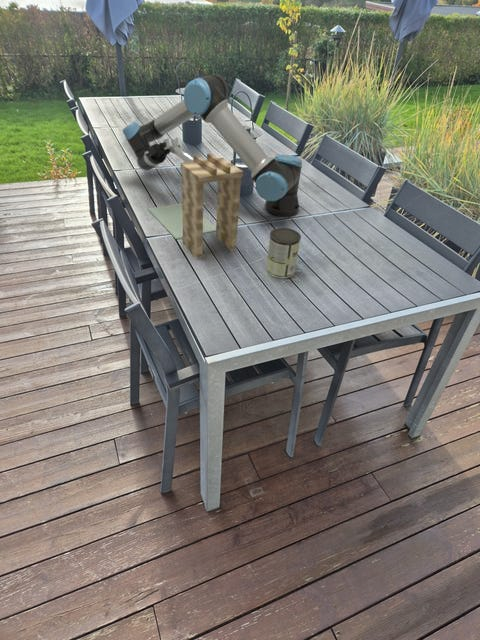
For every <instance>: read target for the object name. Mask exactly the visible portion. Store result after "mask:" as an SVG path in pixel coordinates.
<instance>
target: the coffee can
mask: <svg viewBox="0 0 480 640" xmlns="http://www.w3.org/2000/svg"><path fill="white" fill-rule="evenodd" d="M301 237H302V235H301V233H299V232H298V231H297V230H295V229H291V228H289V227H278V228H277V227H276V228H274V229H271V231H270V232H269V242H268V251H267V260H266V267H265V271H266V273H267V274H268V275H269V276H271V277H273V278H277V279H289V278H292V277H293V276H295V273H296V267H297V260H298V255H299V248H300V243H301Z"/></svg>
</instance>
